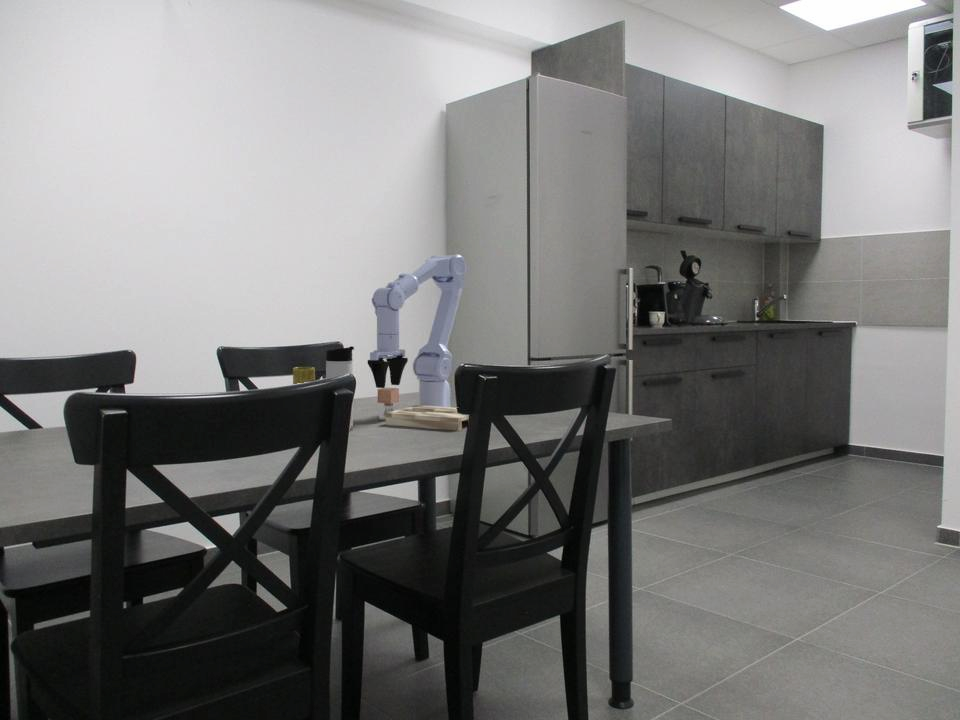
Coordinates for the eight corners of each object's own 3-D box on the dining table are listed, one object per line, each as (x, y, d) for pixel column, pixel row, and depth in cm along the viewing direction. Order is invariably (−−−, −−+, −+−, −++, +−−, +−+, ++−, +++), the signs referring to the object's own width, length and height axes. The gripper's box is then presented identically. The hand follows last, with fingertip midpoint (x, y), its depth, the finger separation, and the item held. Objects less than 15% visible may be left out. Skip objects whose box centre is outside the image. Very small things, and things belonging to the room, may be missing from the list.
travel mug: (351, 432, 189) (351, 347, 188) (324, 431, 189) (323, 347, 188) (356, 427, 195) (356, 345, 194) (329, 427, 195) (328, 345, 194)
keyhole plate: (416, 416, 214) (416, 405, 214) (485, 421, 206) (485, 409, 206) (385, 424, 200) (385, 412, 200) (458, 430, 192) (458, 418, 192)
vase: (322, 424, 200) (321, 367, 199) (304, 427, 195) (303, 369, 194) (304, 422, 203) (303, 366, 202) (286, 425, 198) (285, 368, 197)
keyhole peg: (385, 417, 212) (385, 387, 211) (400, 418, 210) (400, 388, 209) (375, 420, 208) (375, 389, 207) (391, 421, 206) (391, 390, 205)
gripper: (388, 332, 215) (388, 382, 216) (359, 334, 202) (359, 388, 203) (412, 333, 212) (411, 384, 213) (383, 335, 199) (383, 389, 200)
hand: (388, 386), depth 208 cm, fingers open, 7 cm apart
